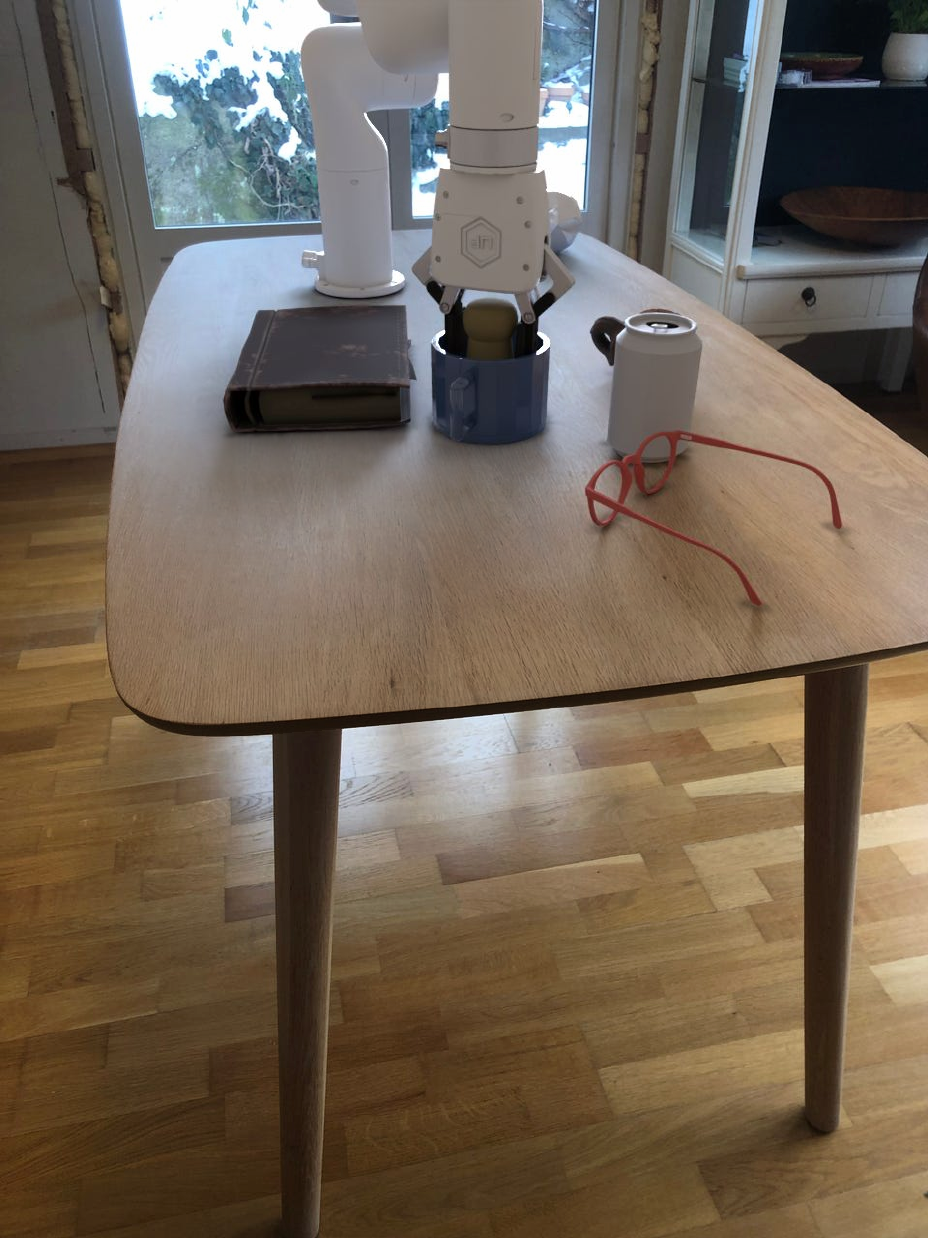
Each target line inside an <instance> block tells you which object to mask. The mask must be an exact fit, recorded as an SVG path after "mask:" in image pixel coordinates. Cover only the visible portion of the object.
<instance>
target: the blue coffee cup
mask: <svg viewBox="0 0 928 1238" xmlns="http://www.w3.org/2000/svg"><path fill="white" fill-rule="evenodd" d="M468 339H469V336H468V335H467V346H468ZM512 343H513V353H514V358H513V359H501V360H482V359H472V358H466V354H467V347H466V349H465V350H463V351H462V352H461V353H460V354H459V355H453V354H450V353H448V344H445V330H442V331H440V332H438V333H437V334H435V335H434V336H433V337H432V339H431V343H430V353H431V354H430V360H431V363H430V364H431V365H430V366H431V402H432V403H431V406H432V407H431V408H432V411H431V412H432V413H431V414H432V423H433V426H434V428H435V429H436V430H437V431H438V432H439V433H440V434H442V435H443V436H445V437H448V438H451V440H452V441H453V442H458V443H459V442H464V443H470V444H476V445H477V444H479V445H502V444H512V443H517V442H521V441H524V440H528V439H531V438H533V437H536V436H537V435H539V434H540V433H541V432H542V431H543V430H544V429H545V427H546V424H547V417H548V416H547V415H548V397H549V379H550V378H549V377H550V356H551V340H550V339H549V337H547V335H546V334H544V333H542V332H540V331H538V345H537V351H536V352H535V353H532V354H530V355H527V356H522V357H518V358H515V351H516V331H515V333H514V334H513V336H512Z"/></svg>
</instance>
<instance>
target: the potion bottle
mask: <svg viewBox="0 0 928 1238" xmlns="http://www.w3.org/2000/svg"><path fill="white" fill-rule="evenodd" d="M547 192H548V202H549V215H550V248H551V249H552V251H553V252H554V253H555V254H559V253H562V252H563V251H565V250H567V249H568V248H570V247H571V246H572V245H573V243H574V242H575V241H576V240H577V237H578V235H579V233H580V231H581V225H582V221H583V220H582V212H581V208H580V206H579V203H578V200H576V199H575V198H574V197H573V196H572V195H570V194H569V193H568V192H567V191H565V190H564V189H563V188H547Z"/></svg>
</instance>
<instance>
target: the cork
mask: <svg viewBox="0 0 928 1238" xmlns="http://www.w3.org/2000/svg"><path fill="white" fill-rule="evenodd" d="M465 307H466V308H465V310H464V313H463V325H464V329H465V332H466V333H467V335H468V336H469V339H468V346H467V354H466V358H472V359H482V360H501V359H513V358H514V353H513V343H512V336H513V334H514V333H515V331H516V325H517V323H518V322H519V314H518V313H519V312H518V310H517V307H516V306H515V304H514V303H513V302H511V301H510V300H509V299H505V298H501V297H479V298H476V299H473V300H471V301H470V302H469V303H467V304H466V306H465Z"/></svg>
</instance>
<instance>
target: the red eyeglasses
mask: <svg viewBox="0 0 928 1238" xmlns="http://www.w3.org/2000/svg"><path fill="white" fill-rule="evenodd" d="M660 436H666V437H667V438H668V440H669V442H670V448H671V452H670V459H669V461H668V464H667V467H666V470H665V472H664V474H663V476H662V478H661V479H660V481H659V482H658V483H657V485H655V486H654V487H653V488H651V489H649V490H648V489H646V487H645V475H646V473H645V472H646V470H645V468H644V466H643V462H641V455H642V452H643V450H644V448H645V447H646V445H647V444H648V443H649V442H650V441H652V440H653V439H655V438H657V437H660ZM678 440H686V441H689V442H691V443H696V444H701V445H705V446H710V447H715V448H720V449H727V450H734V451H739V452H742V453H743V452H744V453H748V454H751V455H756V456H761V457H765V458H769V459H773V460H777V461H780V462H785V463H789V464H793V465H796V466H799V467H803V468H805V469H808V470H809V471H811V472H813V473H814V474H815V475H816V476H817V477H819V478H820V480H821V481H822V483H824V485H825V487H826V489H827V491H828V494H829V499H830V506H831V516H832V517H831V519H832V526H833V527H835V529H836V530H840V529H842V527H843V523H842V518H841V511H840V508H839V507H840V506H839V503H838V498H837V493H836V490H835V488H834V486H833V483H832V482H831V481H830V479H829V478H828V477H827V476H826V475H825V474H824V473H823V472H822V471H821V470H819V469H818V468H817V467H815V466H813V465H811V464H810V463H808V462H805V461H802V460H798V459H795V458H791V457H788V456H785V455H781V454H777V453H773V452H770V451H765V450H761V449H756V448H752V447H748V446H744V445H740V444H738V443H737V444H736V443H733V442H730V441H726V440H723V439H720V438H715V437H710V436H706V435H702V434H697V433H692V432H690V433H689V432H684V431H679V430H677V431H672V432H659V433H656V434H653V435H651V436H650V437H648V438H647V439H646V440H644V441H643V443H642V444H641V445H640V447H639V448H638V450H637V452H636V454H632V455H627V456H625V457H622V460H621V461H620V460H614V459H613V460H609V461H607V462H604V464H602V465H601V466H600V467H598V469H597V470H596V471H595V472H594V474H592V476H591V478H590V479H589V481H588V482H587V484H586V485H585V486H584V493H585V494H584V495H585V496H586V500H587V506H588V507H587V508H588V512H589V516H590V519H591V521H592V522H593V523H594V524H595V525H596V526H599V527H606V526H608V525H609V524H610V523H611V522H613V521H614V519H615V518H617V515H618V514H619V513H620V514H621V515H623V516H627V517H630V518H632V519H634V520H637V521H639V522H641V523H643V524H646V525H647V526H650V527H652V528H654V529H656V530H659V531H661V532H663V533H664V534H667V535H670V536H672V537H675V538H676V539H679V540H681V541H684V542H686V543H688V544H691V545H694V546H697V547H699V548H701V549H704V550H706V551H708V552H710V553H712V554H714V555H716V556H718V557H719V558H720V559H722V560H723V561H724V562H726V563H727V564H728V565H729V566H730V567H731V568H732V569H733V570H734V572H735V573H736V574H737V576H738V577H739V580H740V581H741V583H742V585H743V588H744V590H745V592H746V594H747V596H748V598H749V600H750V602H751V603H752V604H753V605H755V606H758V607H761V606H762V604H763V602H762V601H761V598H760V597H759V596H758V594H757V593H756V591H755V589H754V587H753V586H752V584H751V583H750V581H749V579H748V578H747V576H746V574H745V573H744V571H743V569H741V568H740V567H739V566H738V564H737V563H736V562H734V561H733V560H732V559H731V558H729V557H728V556H727V555H725V554H724V553H722V552H721V551H719V550H717V549H716V548H714V547H712V546H710V545H708V544H706V543H704V542H701V541H699V540H697V539H695V538H692V537H690V536H689V535H685V534H684V533H681V532H679V531H676V530H674V529H672V528H670V527H668V526H667V525H664V524H663V523H662V524H661V523H660V522H657V521H656V520H653V519H651V518H649V517H647V516H644V515H643V514H640V513H638V512H636V511H635V510H633V509H631V508H630V507H628V506H626V505H624V503H625V502H626V499H627V497H628V494H629V492H630V489H631V487H632V484H633V480H634V481H635V484H636V486H637V488H638V490H639V491H640V492H641V493H643V494H648V495H652V494H654V493H656V492H657V491H659V490H660V489H661V488H662V487H663V486H664V484H666V482H667V480H668V478H669V477H670V474H671V472H672V470H673V468H674V464H675V459H676V457H675V454H676V447H677V441H678ZM630 464H633V467H632V470H633V472H632V470H631V469H630V468H629V465H630ZM614 465H615V466H617V468H618V469H619V472H620V477H621V487H620V491H619V496H618V500H617V501H616V500H615V499H613V498H611V497H609V496H608V495H605V494H604V493H601V492H599V491H597V490H595V489H596V484H597V482H598V479H599V477H600V476H601V475H602V473H603V472H604V471H605V470H606V469H608V468H609V467H611V466H614ZM594 501H596V502H597V503H599V504H602V505H603V506H605V507H607V508H609V509H611V510H613V511H612V512H611V514H610V515H609V517H607V518H606V519H605V520H604V521H600V520H599V518H598V517H597V514H596V509H595V503H594Z"/></svg>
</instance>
